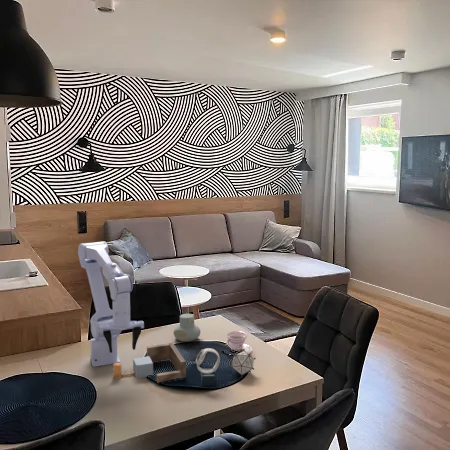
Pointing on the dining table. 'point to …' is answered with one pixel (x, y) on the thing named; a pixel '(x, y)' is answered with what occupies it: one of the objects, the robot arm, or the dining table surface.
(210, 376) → the watch
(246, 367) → the game die
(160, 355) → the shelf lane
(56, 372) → the dining table surface
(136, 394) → the dining table surface
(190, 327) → the air freshener
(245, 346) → the teacup
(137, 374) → the pull block
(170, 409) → the dining table surface
